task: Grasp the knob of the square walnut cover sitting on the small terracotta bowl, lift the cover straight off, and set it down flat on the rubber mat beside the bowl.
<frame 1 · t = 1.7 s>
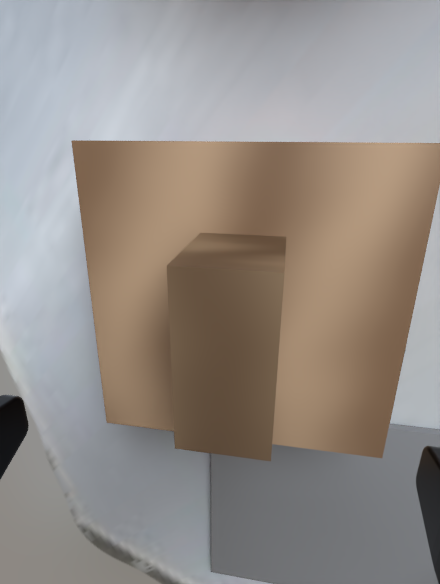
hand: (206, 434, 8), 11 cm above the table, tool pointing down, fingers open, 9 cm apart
cover: (242, 305, 15), point 4 cm above the table, touching bowl
mat: (341, 512, 23), on the table
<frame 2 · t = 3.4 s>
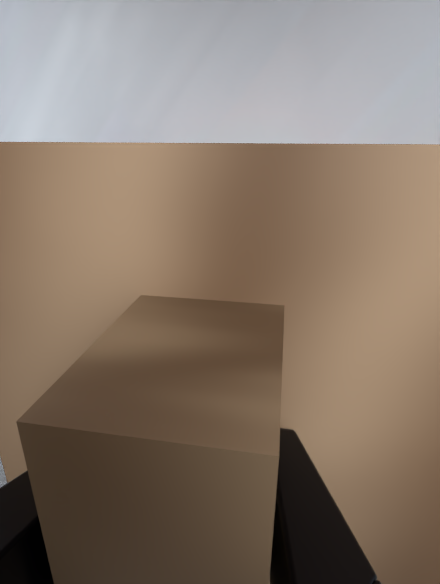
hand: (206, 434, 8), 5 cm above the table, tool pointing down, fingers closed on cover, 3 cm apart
cover: (217, 397, 10), point 4 cm above the table, touching bowl, gripper
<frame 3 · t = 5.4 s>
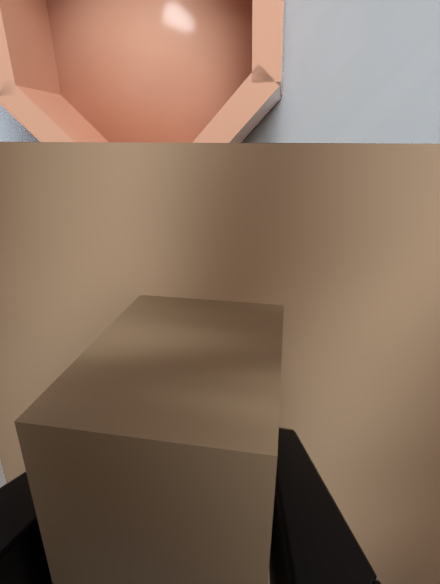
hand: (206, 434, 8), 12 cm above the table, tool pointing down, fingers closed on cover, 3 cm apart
cover: (216, 397, 10), point 11 cm above the table, touching gripper
bowl: (157, 45, 17), on the table
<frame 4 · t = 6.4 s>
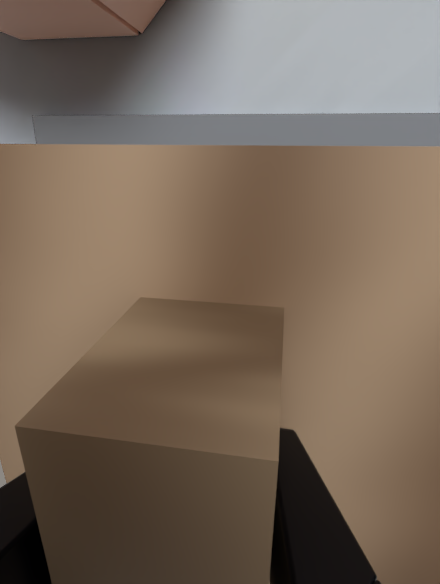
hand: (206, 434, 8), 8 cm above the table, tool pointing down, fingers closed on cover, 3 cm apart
cover: (216, 399, 10), point 7 cm above the table, touching gripper
mat: (241, 299, 16), on the table
when the fingers open (3 cm above the table, at t = 7.4 s): cover drops 1 cm, resting on mat.
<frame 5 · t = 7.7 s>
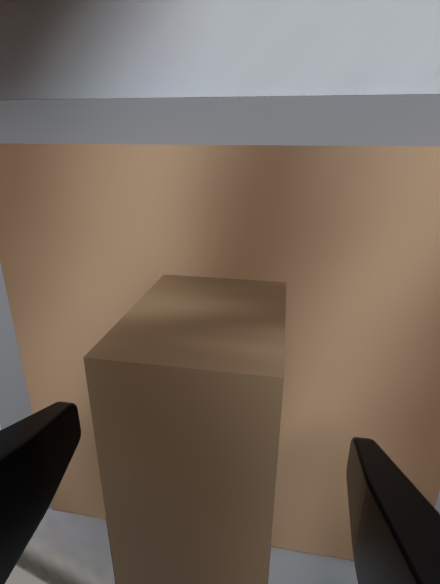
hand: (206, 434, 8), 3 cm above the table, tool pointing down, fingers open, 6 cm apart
cover: (226, 367, 11), resting on mat
mat: (227, 359, 11), on the table
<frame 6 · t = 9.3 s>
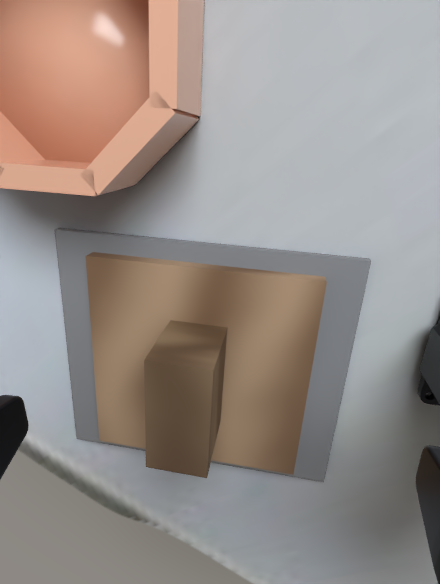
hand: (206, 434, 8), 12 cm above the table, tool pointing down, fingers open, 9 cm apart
cover: (199, 365, 22), resting on mat
bowl: (82, 56, 17), on the table
mat: (200, 361, 22), on the table
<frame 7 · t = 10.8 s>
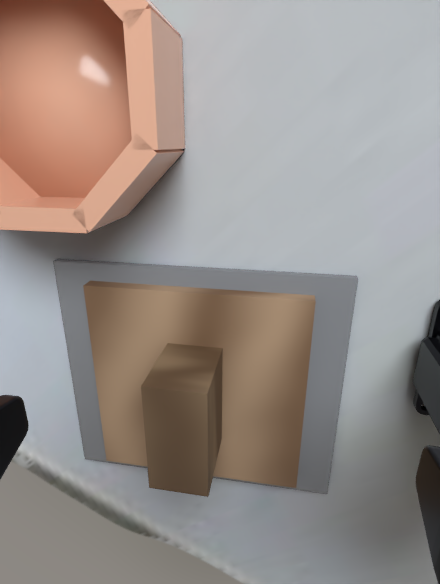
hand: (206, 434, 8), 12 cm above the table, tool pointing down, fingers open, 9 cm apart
cover: (199, 384, 22), resting on mat
bowl: (70, 98, 18), on the table
mat: (199, 380, 22), on the table
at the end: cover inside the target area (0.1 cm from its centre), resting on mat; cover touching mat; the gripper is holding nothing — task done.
